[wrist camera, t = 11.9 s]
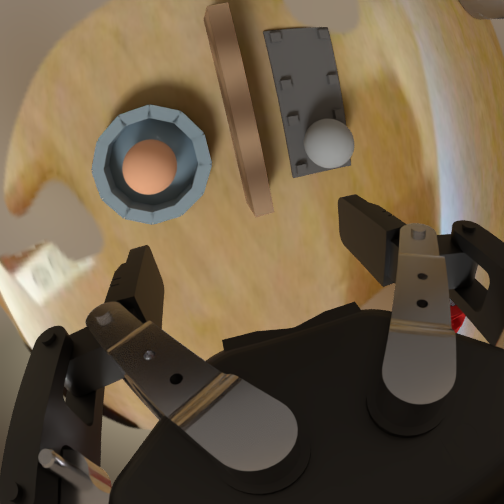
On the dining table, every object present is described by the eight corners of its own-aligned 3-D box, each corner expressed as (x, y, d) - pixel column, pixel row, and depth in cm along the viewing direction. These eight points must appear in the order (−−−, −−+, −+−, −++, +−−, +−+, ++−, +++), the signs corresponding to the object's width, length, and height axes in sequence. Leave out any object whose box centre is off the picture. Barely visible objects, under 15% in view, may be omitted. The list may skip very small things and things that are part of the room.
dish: (87, 128, 25) (79, 131, 22) (193, 92, 26) (193, 91, 23) (120, 226, 30) (115, 236, 28) (219, 196, 31) (222, 204, 29)
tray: (263, 32, 24) (265, 30, 23) (326, 27, 24) (330, 26, 24) (292, 177, 32) (295, 179, 31) (349, 164, 32) (353, 166, 31)
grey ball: (292, 121, 29) (311, 124, 24) (336, 114, 29) (360, 117, 25) (300, 167, 31) (319, 178, 27) (342, 158, 31) (366, 168, 27)
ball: (122, 146, 26) (109, 154, 22) (170, 130, 26) (166, 134, 22) (137, 192, 29) (127, 209, 24) (184, 178, 29) (182, 191, 24)
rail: (203, 19, 22) (206, 5, 18) (222, 16, 22) (228, 2, 19) (246, 202, 32) (255, 217, 28) (263, 198, 32) (274, 212, 28)
